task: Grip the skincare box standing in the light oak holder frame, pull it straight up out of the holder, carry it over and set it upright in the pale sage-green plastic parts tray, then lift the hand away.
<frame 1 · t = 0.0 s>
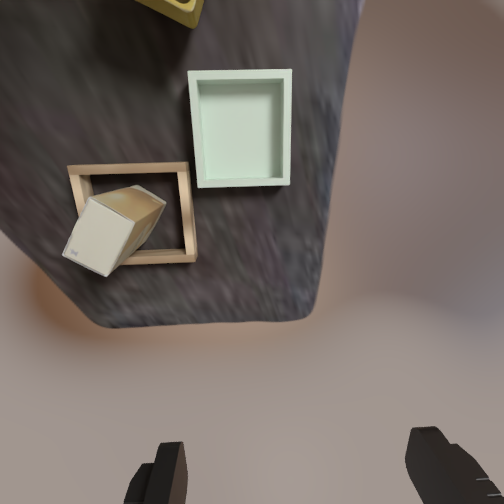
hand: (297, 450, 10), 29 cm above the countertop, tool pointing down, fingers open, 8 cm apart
skincare box: (142, 212, 36), resting in oak holder
parts tray: (241, 133, 34), on the countertop
oak holder: (142, 212, 36), on the countertop
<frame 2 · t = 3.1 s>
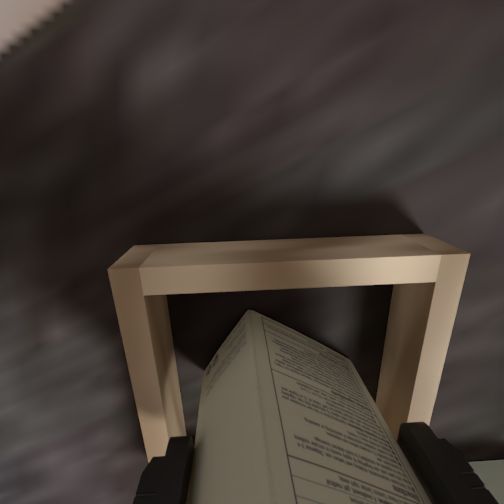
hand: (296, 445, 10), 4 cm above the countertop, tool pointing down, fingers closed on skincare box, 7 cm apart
skincare box: (280, 363, 14), resting in oak holder, touching gripper
oak holder: (280, 367, 14), on the countertop
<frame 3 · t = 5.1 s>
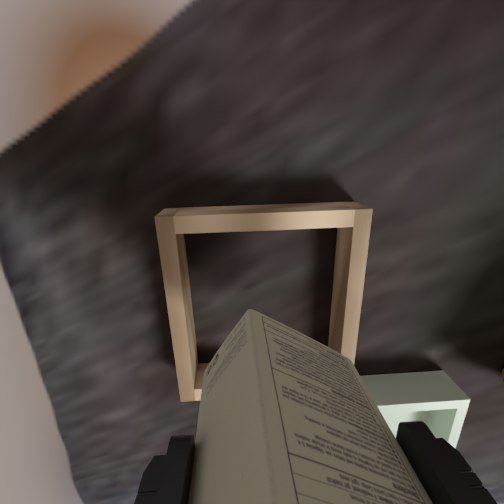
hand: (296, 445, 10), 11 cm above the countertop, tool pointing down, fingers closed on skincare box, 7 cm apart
skincare box: (280, 363, 14), point 6 cm above the countertop, touching gripper
parts tray: (366, 422, 25), on the countertop
oak holder: (262, 296, 20), on the countertop
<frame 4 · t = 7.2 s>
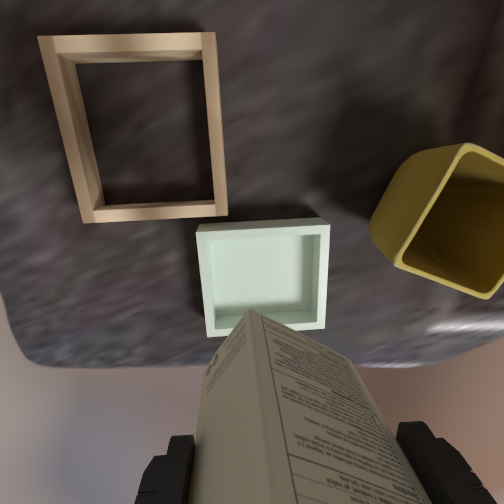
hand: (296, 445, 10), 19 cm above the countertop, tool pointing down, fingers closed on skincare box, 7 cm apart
flower pot: (402, 205, 28), on the countertop
skincare box: (280, 363, 14), point 15 cm above the countertop, touching gripper
parts tray: (262, 271, 29), on the countertop
oak holder: (151, 137, 24), on the countertop
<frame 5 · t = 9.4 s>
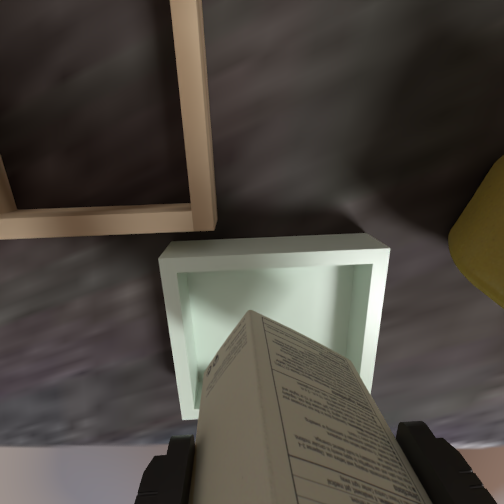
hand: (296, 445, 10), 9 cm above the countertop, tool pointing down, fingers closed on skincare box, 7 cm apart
flower pot: (498, 215, 17), on the countertop
skincare box: (280, 364, 14), point 5 cm above the countertop, touching gripper
parts tray: (270, 314, 19), on the countertop
oak holder: (86, 95, 14), on the countertop
when the fingers open (6 cm above the countertop, at t = 11.1 s): skincare box drops 1 cm, resting on parts tray.
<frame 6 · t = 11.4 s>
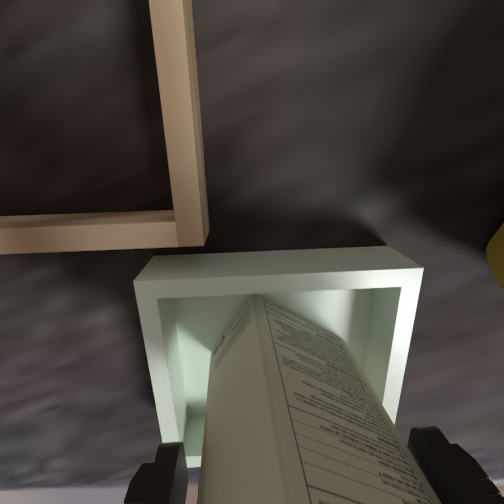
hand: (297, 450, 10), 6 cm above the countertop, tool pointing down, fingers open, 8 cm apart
skincare box: (280, 345, 15), resting on parts tray
parts tray: (273, 340, 16), on the countertop
oak holder: (42, 74, 11), on the countertop
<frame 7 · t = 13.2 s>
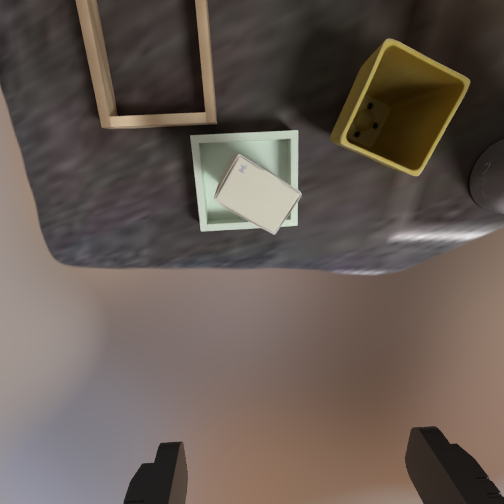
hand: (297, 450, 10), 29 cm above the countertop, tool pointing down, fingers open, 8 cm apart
flower pot: (361, 122, 34), on the countertop
skincare box: (249, 181, 35), resting on parts tray
parts tray: (246, 180, 35), on the countertop
oak holder: (155, 60, 30), on the countertop
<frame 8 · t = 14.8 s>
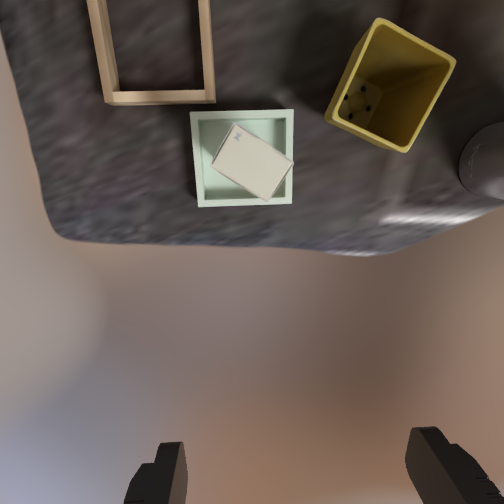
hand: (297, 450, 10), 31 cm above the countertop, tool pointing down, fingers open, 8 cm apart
flower pot: (355, 105, 35), on the countertop
skincare box: (246, 159, 36), resting on parts tray
parts tray: (243, 159, 36), on the countertop
oak holder: (157, 39, 32), on the countertop
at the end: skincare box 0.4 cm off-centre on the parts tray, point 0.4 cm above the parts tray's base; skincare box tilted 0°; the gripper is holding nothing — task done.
